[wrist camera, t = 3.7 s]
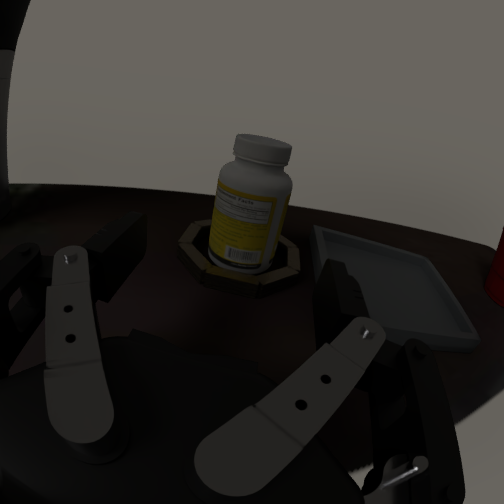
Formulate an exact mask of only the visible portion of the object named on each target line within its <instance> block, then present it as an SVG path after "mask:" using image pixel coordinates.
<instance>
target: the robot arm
mask: <svg viewBox="0 0 504 504" xmlns="http://www.w3.org/2000/svg"><path fill="white" fill-rule="evenodd" d="M30 1H31V0H0V220H1V219H2V218H4V217H5V216H6V215H7V214H8V212H9V211H10V209H11V201H10V192H9V182H8V166H7V112H8V98H9V88H10V78H11V72H12V66H13V60H14V55H15V49H16V45H17V40H18V37H19V34H20V31H21V28H22V25H23V22H24V18H25V15H26V12H27V9H28V5H29V3H30ZM146 246H147V216H146V215H145V214H142V213H137V212H133V211H130V212H128V213H127V214H126V215H125V216H123V217H122V218H121V219H117V220H115V221H112V222H110V223H108V224H107V225H105V226H104V227H103V228H102V230H101V229H100V230H99V231H98V232H97V234H94V235H93V236H92V237H91V238H90V239H89V240H87V241H86V242H85V243H84V244H83V245H82V246H81V247H80V246H68V247H64V248H62V249H60V250H59V251H57V252H56V254H55V255H54V256H42V255H41V253H40V248H39V246H38V245H37V244H35V243H24V244H21V245H19V246H17V247H15V248H14V249H13V250H12V251H11V252H10V253H8V254H7V255H6V256H5V257H4V258H3V259H2V260H1V261H0V504H463V501H464V498H465V483H464V475H463V469H462V462H461V457H460V451H459V446H458V440H457V436H456V431H455V427H454V422H453V418H452V414H451V410H450V406H449V403H448V399H447V396H446V392H445V389H444V385H443V382H442V379H441V376H440V373H439V369H438V366H437V363H436V360H435V358H434V355H433V352H432V350H431V349H430V348H429V346H428V345H427V344H425V343H424V342H423V341H421V340H418V339H414V338H411V339H408V340H407V341H406V342H405V343H404V345H403V346H401V345H398V344H396V343H393V342H391V341H389V340H387V339H386V334H385V331H384V330H383V328H382V327H381V326H380V325H379V324H378V323H377V322H376V321H374V320H372V319H370V316H369V312H368V309H367V306H366V303H365V300H364V297H363V294H362V291H361V288H360V285H359V283H358V282H357V280H356V279H355V278H354V277H353V276H351V275H348V272H347V269H346V265H345V263H344V262H341V261H337V260H333V259H329V258H328V259H327V260H326V261H325V264H324V266H323V269H322V271H321V273H320V276H319V278H318V281H317V283H316V286H315V288H314V292H313V298H312V302H313V313H314V325H315V338H316V352H315V353H314V354H313V355H312V356H311V357H310V358H309V359H308V360H307V361H306V362H305V363H304V364H303V365H301V366H300V367H299V368H298V369H297V370H296V371H295V372H294V373H292V374H291V375H290V376H289V377H288V378H287V379H286V380H284V381H283V382H282V383H281V384H280V385H277V384H276V383H275V382H274V381H272V380H271V379H269V378H268V377H266V376H264V375H262V374H260V373H258V372H257V366H258V362H253V361H248V360H244V359H239V358H235V357H230V356H226V355H204V354H192V353H189V352H187V351H185V350H183V349H181V348H179V347H177V346H175V345H174V344H172V343H170V342H168V341H166V340H164V339H163V338H160V337H157V336H154V335H151V334H148V333H145V332H142V331H139V330H136V329H132V331H131V333H130V334H129V336H128V337H120V336H117V337H108V338H103V339H102V338H101V333H100V328H99V322H98V317H97V310H96V305H95V303H96V302H97V300H101V301H104V302H107V303H108V302H109V301H110V300H111V298H112V297H113V296H114V294H115V293H116V292H117V290H118V289H119V288H120V286H121V285H122V284H123V283H124V281H125V280H126V279H127V277H128V276H129V275H130V274H131V272H132V271H133V270H134V269H135V267H136V266H137V265H138V264H139V262H140V261H141V260H142V259H143V257H144V255H145V252H146ZM19 287H20V290H21V293H22V296H23V297H22V298H21V299H20V300H19V301H18V302H17V304H16V305H15V306H14V307H13V308H12V309H11V311H9V307H8V303H9V299H10V297H11V296H12V294H13V293H14V292H15V291H16V290H17V289H18V288H19ZM44 318H45V343H46V362H44V363H41V364H39V365H36V366H34V367H31V368H29V369H26V370H24V371H21V372H19V373H16V374H14V375H11V376H9V369H10V367H11V366H12V364H13V363H14V361H15V359H16V358H17V356H18V355H19V353H20V352H21V350H22V349H23V347H24V346H25V344H26V343H27V341H28V340H29V338H30V337H31V336H32V334H33V333H34V331H35V330H36V329H37V327H38V326H39V324H40V323H41V322H42V320H43V319H44ZM8 376H9V377H8ZM354 387H355V388H358V389H360V390H363V391H365V392H368V394H369V404H370V415H371V427H372V443H373V469H371V470H370V471H369V472H368V474H367V475H366V477H365V480H364V485H363V487H362V490H360V488H359V486H358V485H357V484H356V482H355V481H354V480H353V479H352V477H351V476H350V475H349V474H348V473H347V471H346V470H345V469H344V468H343V467H342V465H341V464H340V463H339V462H338V460H337V459H336V458H335V457H334V455H333V454H332V453H331V452H330V450H329V449H328V448H327V447H326V445H325V444H324V443H323V442H322V440H321V439H320V438H319V436H318V435H317V434H316V433H317V432H318V431H319V430H320V429H321V427H322V426H323V425H324V424H325V423H326V422H327V420H328V419H329V418H330V417H331V416H332V415H333V413H334V412H335V411H336V410H337V408H338V407H339V406H340V405H341V403H342V402H343V401H344V400H345V398H346V397H347V396H348V394H349V393H350V392H351V390H352V389H353V388H354ZM404 394H405V395H406V400H407V407H406V408H405V402H404V397H403V395H404Z"/></svg>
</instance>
